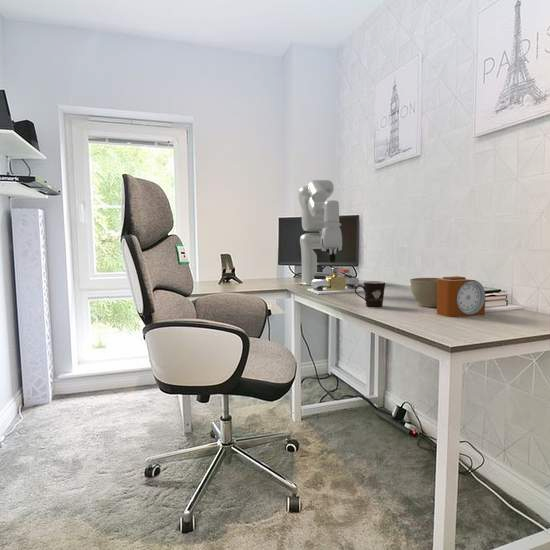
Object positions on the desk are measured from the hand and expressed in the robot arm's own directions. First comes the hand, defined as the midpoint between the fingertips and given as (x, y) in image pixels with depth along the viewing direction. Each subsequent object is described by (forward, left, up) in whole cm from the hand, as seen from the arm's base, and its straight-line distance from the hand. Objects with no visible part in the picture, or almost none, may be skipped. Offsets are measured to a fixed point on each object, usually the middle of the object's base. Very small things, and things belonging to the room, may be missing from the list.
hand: (331, 262), depth 191 cm
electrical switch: (-24, +6, -17) cm, 30 cm away
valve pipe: (-10, +7, -16) cm, 20 cm away
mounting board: (-9, +7, -16) cm, 20 cm away
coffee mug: (+38, 0, -17) cm, 41 cm away
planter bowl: (+46, +23, -17) cm, 54 cm away
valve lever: (-5, +7, -6) cm, 10 cm away
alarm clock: (+64, +21, -17) cm, 69 cm away
